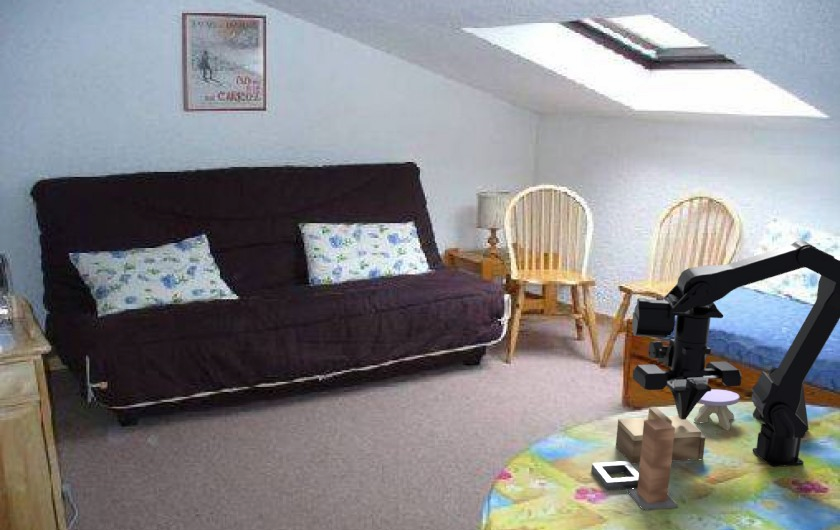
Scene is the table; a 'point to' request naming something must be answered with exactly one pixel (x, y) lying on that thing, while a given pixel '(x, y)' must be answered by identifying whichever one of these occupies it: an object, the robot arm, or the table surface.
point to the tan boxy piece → (681, 451)
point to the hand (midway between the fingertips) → (682, 418)
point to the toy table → (717, 406)
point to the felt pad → (645, 505)
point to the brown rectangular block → (655, 460)
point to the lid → (636, 424)
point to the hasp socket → (615, 467)
